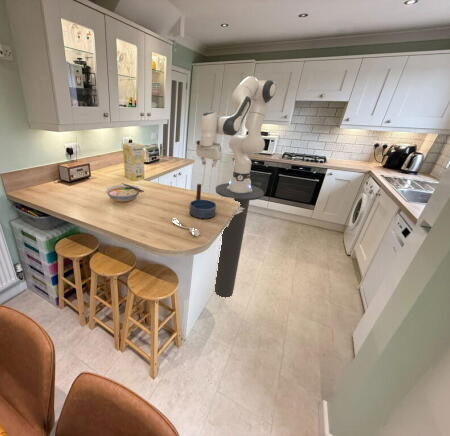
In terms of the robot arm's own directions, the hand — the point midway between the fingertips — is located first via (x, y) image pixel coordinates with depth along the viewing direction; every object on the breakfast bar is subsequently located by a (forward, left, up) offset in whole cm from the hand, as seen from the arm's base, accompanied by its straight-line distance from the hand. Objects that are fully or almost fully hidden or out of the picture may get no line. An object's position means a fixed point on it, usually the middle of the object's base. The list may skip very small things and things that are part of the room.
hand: (208, 165), depth 141 cm
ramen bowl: (+17, -52, -25) cm, 60 cm away
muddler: (+5, -3, -25) cm, 26 cm away
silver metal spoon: (+38, -1, -25) cm, 45 cm away
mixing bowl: (+16, +3, -25) cm, 30 cm away
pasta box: (-32, -73, -25) cm, 84 cm away
